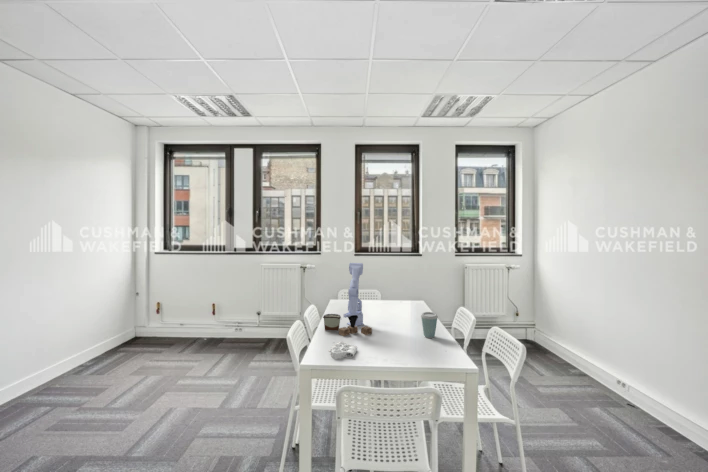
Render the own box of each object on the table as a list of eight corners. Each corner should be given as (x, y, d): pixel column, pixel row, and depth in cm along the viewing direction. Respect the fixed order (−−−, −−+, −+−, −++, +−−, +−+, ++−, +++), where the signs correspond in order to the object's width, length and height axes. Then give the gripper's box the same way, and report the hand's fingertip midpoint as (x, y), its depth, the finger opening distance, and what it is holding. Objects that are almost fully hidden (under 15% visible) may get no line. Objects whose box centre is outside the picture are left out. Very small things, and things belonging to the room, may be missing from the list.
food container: (342, 328, 231) (342, 314, 231) (340, 331, 225) (341, 316, 225) (324, 327, 232) (324, 313, 232) (322, 330, 226) (322, 315, 226)
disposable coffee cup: (437, 340, 212) (438, 316, 211) (420, 338, 214) (420, 315, 214) (436, 334, 222) (437, 312, 222) (420, 333, 224) (420, 311, 224)
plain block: (353, 331, 227) (353, 325, 227) (357, 332, 223) (357, 326, 223) (347, 332, 223) (347, 326, 223) (351, 334, 220) (352, 328, 219)
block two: (344, 332, 222) (345, 326, 222) (349, 334, 218) (349, 328, 218) (338, 334, 219) (339, 328, 219) (343, 336, 215) (343, 330, 215)
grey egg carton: (352, 361, 176) (325, 358, 179) (358, 349, 194) (333, 346, 197) (352, 354, 176) (325, 352, 179) (358, 343, 194) (333, 341, 197)
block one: (366, 332, 225) (366, 325, 225) (371, 333, 221) (371, 327, 221) (360, 333, 222) (361, 327, 222) (366, 335, 218) (366, 329, 218)
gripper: (348, 308, 215) (348, 330, 215) (365, 305, 224) (364, 326, 225) (341, 306, 220) (341, 327, 221) (358, 303, 230) (357, 323, 230)
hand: (352, 326), depth 223 cm, fingers closed
